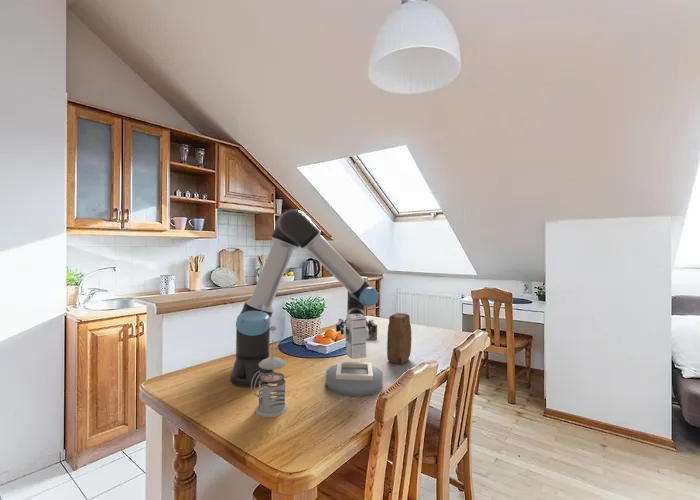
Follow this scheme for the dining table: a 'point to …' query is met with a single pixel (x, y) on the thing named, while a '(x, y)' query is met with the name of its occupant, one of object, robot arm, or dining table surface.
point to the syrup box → (356, 336)
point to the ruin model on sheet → (373, 334)
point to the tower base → (354, 379)
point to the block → (399, 338)
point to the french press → (271, 388)
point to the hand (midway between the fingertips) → (356, 334)
